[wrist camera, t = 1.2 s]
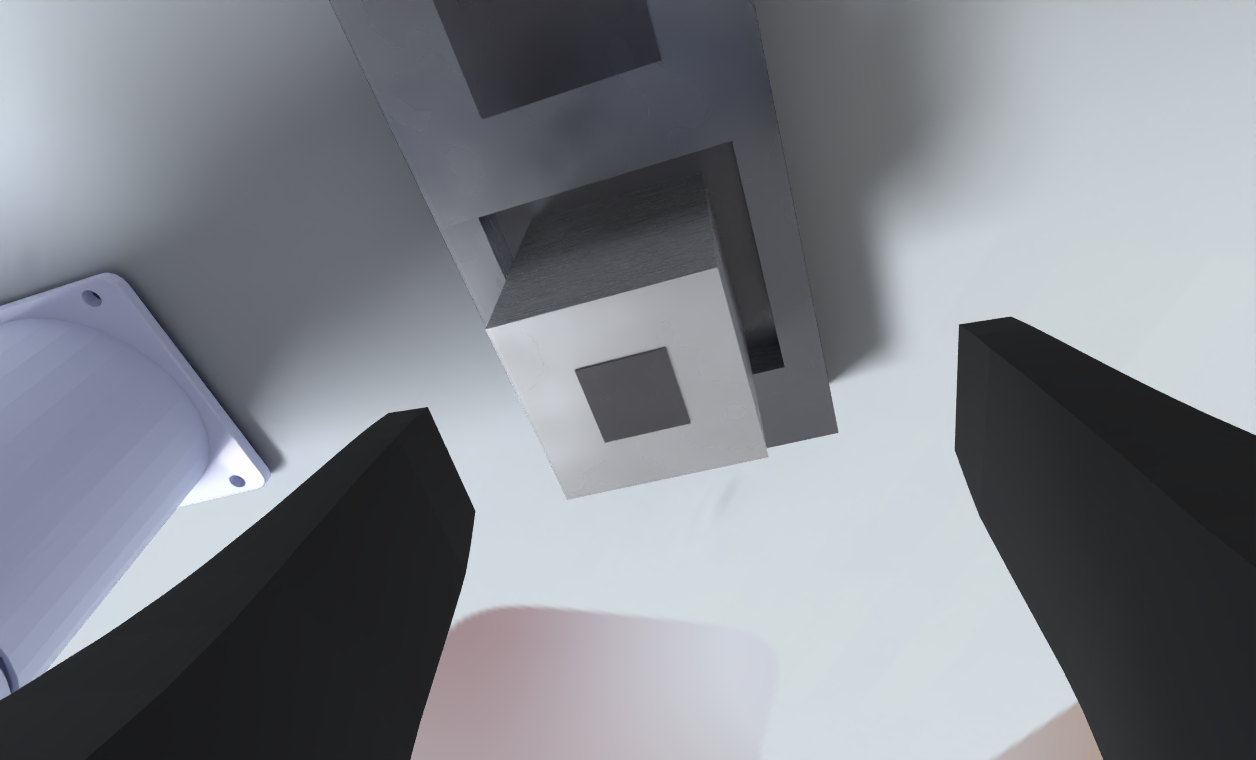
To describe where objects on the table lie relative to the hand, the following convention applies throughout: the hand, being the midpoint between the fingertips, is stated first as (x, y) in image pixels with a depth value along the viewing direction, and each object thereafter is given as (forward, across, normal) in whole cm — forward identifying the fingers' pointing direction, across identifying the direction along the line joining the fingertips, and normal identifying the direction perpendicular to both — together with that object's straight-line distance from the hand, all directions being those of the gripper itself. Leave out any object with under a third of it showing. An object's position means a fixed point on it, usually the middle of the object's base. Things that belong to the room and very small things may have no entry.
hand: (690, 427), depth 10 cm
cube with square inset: (+9, +1, +2) cm, 9 cm away
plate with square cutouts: (+10, +2, 0) cm, 10 cm away
